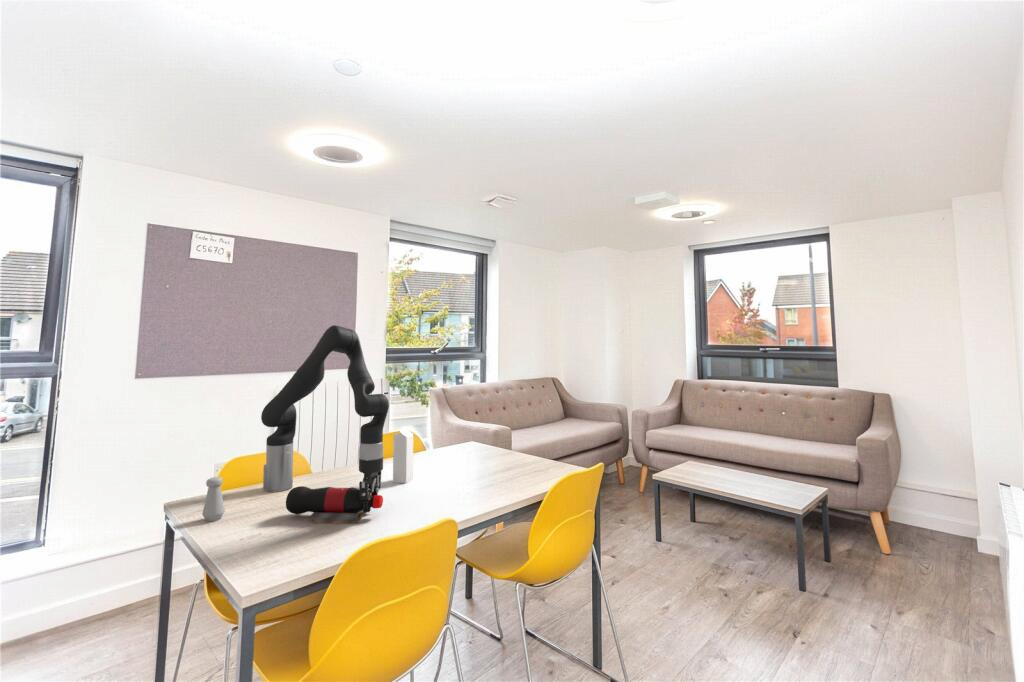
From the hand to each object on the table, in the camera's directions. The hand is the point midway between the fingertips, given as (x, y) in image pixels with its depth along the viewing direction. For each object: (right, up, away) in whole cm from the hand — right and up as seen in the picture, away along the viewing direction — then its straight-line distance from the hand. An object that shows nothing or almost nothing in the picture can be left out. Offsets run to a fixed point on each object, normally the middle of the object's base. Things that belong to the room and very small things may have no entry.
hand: (370, 507), depth 144 cm
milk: (+1, -4, +39) cm, 39 cm away
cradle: (-9, -2, 0) cm, 10 cm away
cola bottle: (-26, +3, 0) cm, 26 cm away
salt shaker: (-48, -2, -4) cm, 49 cm away
